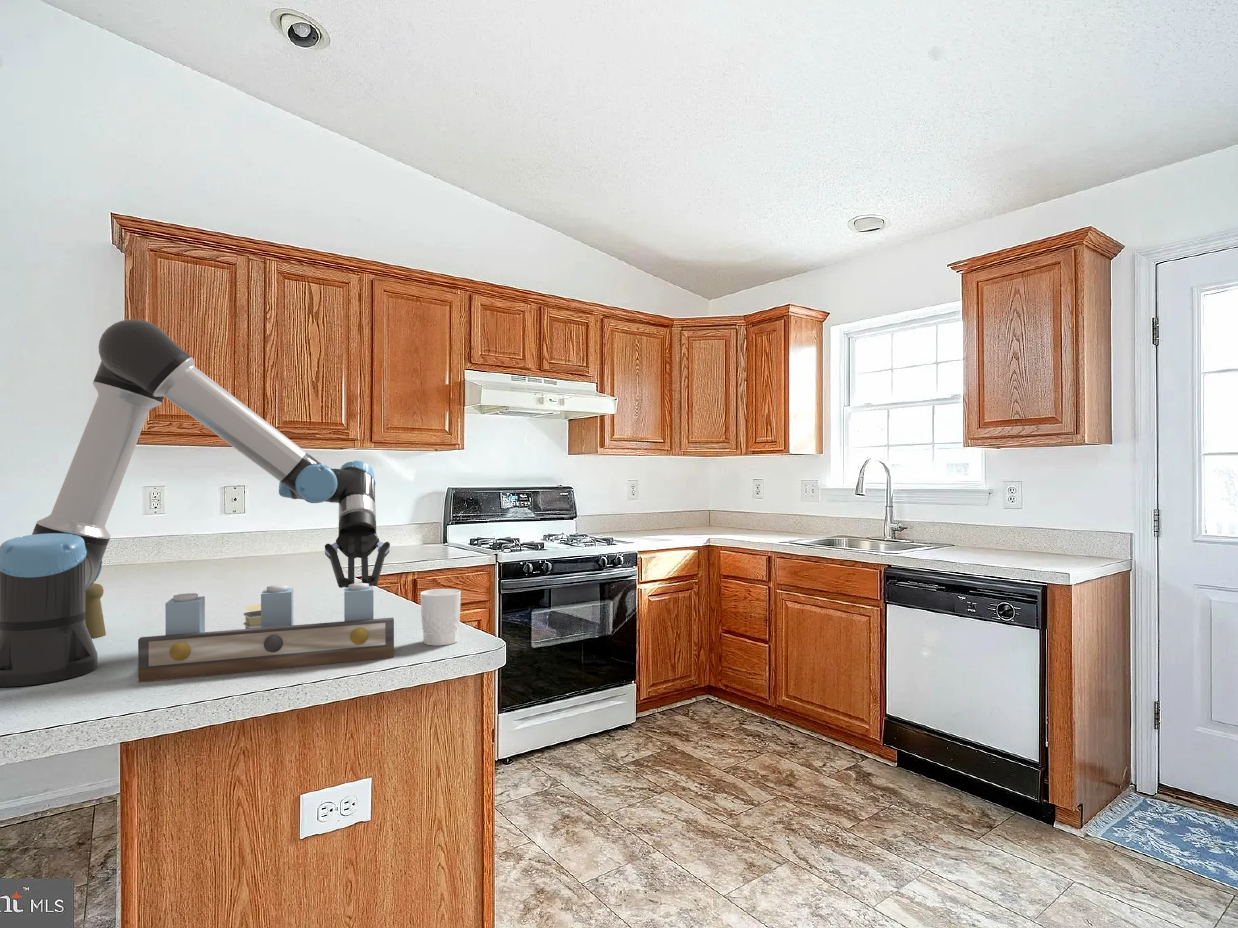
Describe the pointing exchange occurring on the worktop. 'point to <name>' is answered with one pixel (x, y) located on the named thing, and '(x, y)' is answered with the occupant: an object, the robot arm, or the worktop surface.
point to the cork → (94, 611)
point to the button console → (263, 648)
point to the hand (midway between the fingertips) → (358, 613)
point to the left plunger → (185, 614)
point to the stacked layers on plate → (252, 617)
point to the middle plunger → (277, 606)
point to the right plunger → (358, 602)
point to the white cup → (440, 616)
